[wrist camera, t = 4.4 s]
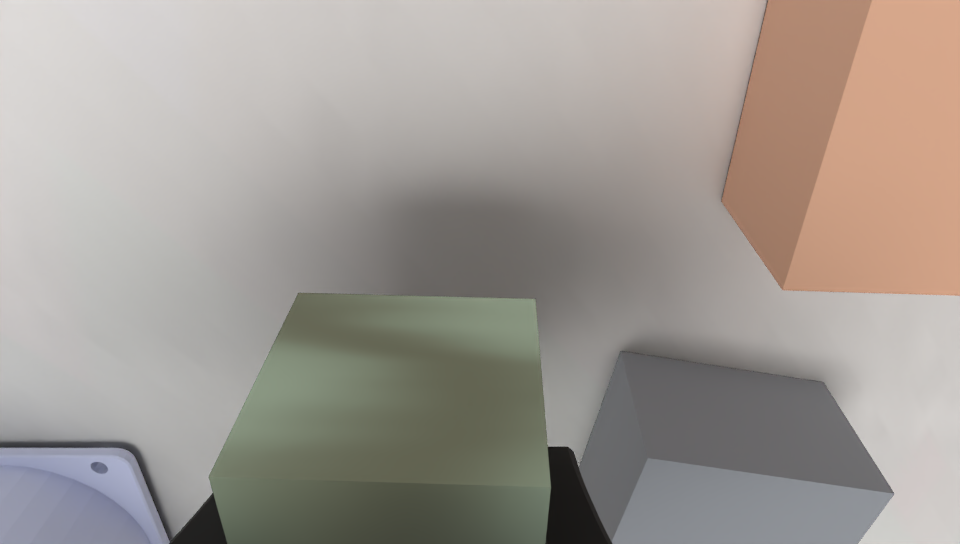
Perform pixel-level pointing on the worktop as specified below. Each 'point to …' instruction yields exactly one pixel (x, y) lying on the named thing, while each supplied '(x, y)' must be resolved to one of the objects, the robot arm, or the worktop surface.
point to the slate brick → (726, 459)
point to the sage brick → (392, 426)
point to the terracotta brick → (853, 147)
